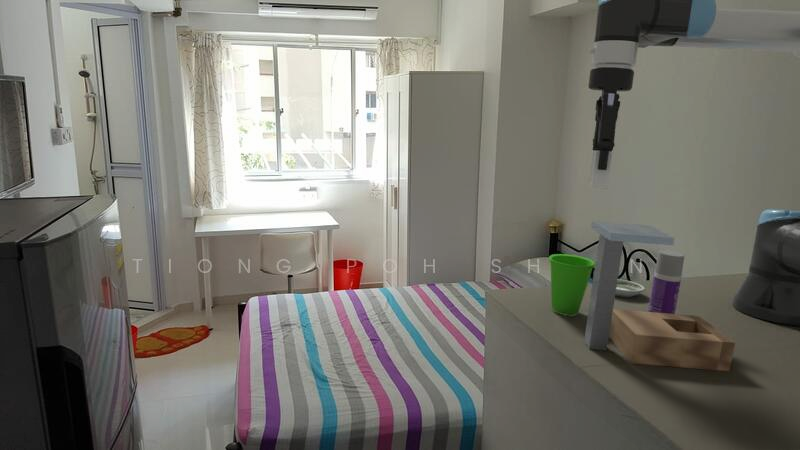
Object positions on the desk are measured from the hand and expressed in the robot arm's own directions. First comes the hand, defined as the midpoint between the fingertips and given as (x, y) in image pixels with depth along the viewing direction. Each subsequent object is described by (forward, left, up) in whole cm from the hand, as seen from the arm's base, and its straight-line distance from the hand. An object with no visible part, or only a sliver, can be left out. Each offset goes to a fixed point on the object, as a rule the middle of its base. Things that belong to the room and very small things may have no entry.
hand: (597, 184), depth 104 cm
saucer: (-15, -19, -27) cm, 37 cm away
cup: (+2, -3, -27) cm, 27 cm away
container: (-15, +2, -27) cm, 31 cm away
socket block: (-11, +14, -27) cm, 32 cm away
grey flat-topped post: (-2, +13, -27) cm, 30 cm away
